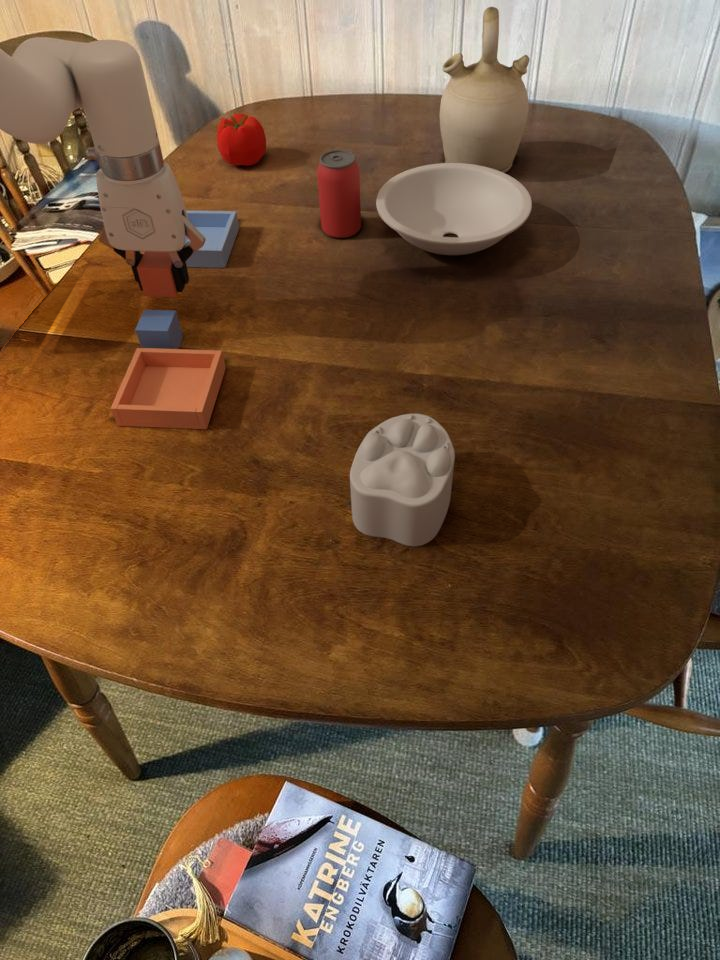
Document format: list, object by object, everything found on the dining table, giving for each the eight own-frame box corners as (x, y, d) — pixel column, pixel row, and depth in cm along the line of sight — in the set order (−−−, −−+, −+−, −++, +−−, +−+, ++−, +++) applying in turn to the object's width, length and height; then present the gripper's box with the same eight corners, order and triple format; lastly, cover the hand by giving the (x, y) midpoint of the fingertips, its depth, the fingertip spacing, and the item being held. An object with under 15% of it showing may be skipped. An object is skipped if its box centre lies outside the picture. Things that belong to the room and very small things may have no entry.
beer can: (350, 215, 122) (347, 144, 113) (368, 233, 118) (366, 161, 109) (315, 225, 120) (309, 154, 111) (331, 244, 116) (326, 172, 107)
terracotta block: (144, 295, 100) (136, 268, 97) (153, 277, 103) (145, 249, 100) (176, 297, 100) (169, 269, 97) (183, 278, 103) (177, 250, 99)
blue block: (143, 356, 100) (134, 330, 96) (152, 335, 102) (144, 309, 99) (175, 357, 99) (167, 330, 96) (183, 336, 102) (175, 310, 99)
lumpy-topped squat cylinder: (342, 528, 79) (338, 478, 73) (379, 446, 87) (378, 393, 81) (433, 552, 77) (437, 502, 70) (462, 465, 85) (468, 413, 78)
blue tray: (153, 266, 114) (148, 249, 111) (171, 226, 121) (167, 209, 119) (225, 268, 113) (221, 250, 110) (239, 228, 120) (236, 210, 118)
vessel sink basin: (538, 211, 121) (544, 173, 116) (509, 293, 106) (515, 253, 101) (401, 191, 126) (401, 154, 121) (356, 266, 112) (354, 228, 107)
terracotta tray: (117, 425, 91) (110, 408, 89) (142, 365, 98) (136, 347, 96) (207, 429, 90) (202, 412, 88) (225, 368, 97) (221, 350, 95)
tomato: (242, 145, 139) (235, 105, 134) (277, 157, 136) (272, 116, 130) (209, 165, 135) (200, 124, 129) (244, 177, 131) (237, 136, 125)
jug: (425, 176, 129) (431, 19, 110) (451, 139, 138) (461, -13, 119) (508, 190, 125) (530, 30, 106) (529, 150, 134) (553, -4, 115)
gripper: (52, 171, 86) (97, 299, 100) (191, 176, 85) (217, 304, 98) (74, 142, 90) (114, 268, 104) (206, 146, 89) (228, 273, 103)
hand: (163, 284), depth 101 cm, fingers closed on terracotta block, 4 cm apart
